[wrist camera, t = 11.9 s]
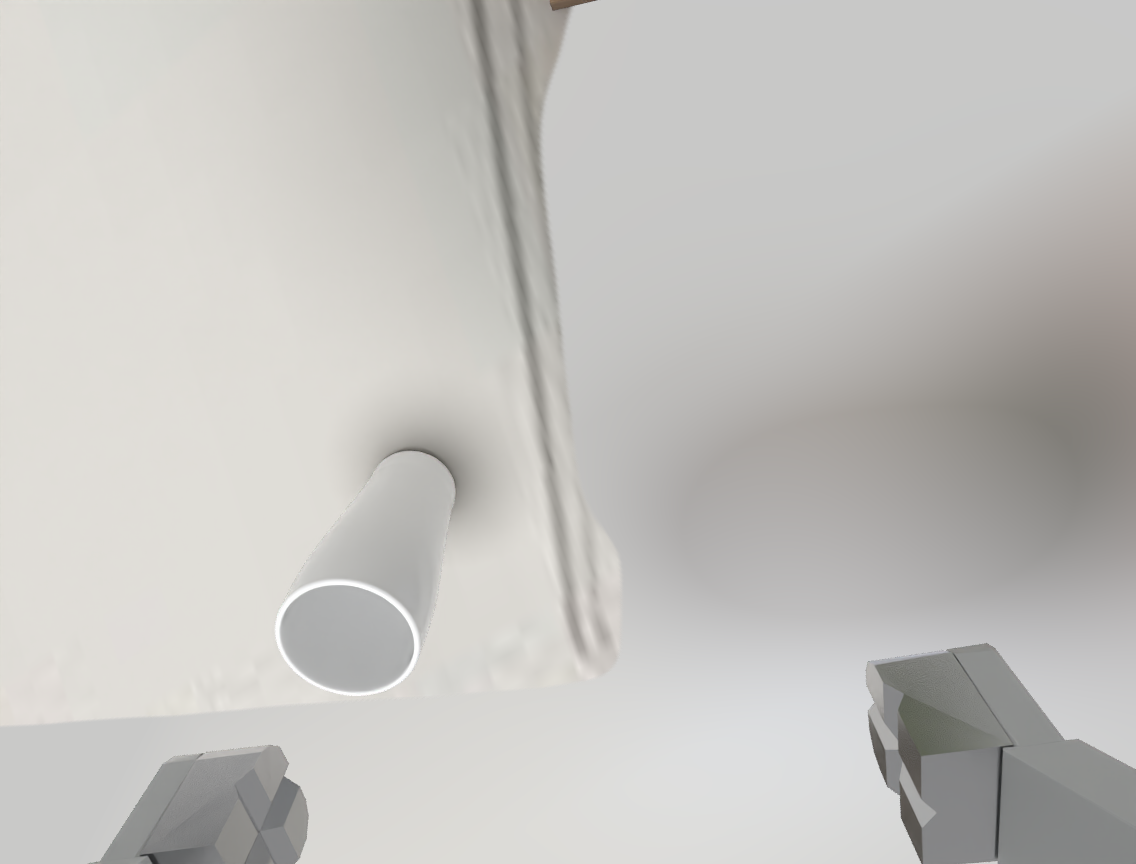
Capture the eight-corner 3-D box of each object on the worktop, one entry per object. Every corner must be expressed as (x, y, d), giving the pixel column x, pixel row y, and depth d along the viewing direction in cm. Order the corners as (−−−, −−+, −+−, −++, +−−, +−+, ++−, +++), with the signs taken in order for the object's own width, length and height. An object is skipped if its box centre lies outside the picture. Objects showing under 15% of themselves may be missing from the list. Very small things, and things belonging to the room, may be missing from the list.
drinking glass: (487, 468, 47) (447, 620, 33) (439, 547, 49) (384, 719, 36) (389, 417, 46) (305, 553, 32) (345, 501, 48) (249, 661, 34)
